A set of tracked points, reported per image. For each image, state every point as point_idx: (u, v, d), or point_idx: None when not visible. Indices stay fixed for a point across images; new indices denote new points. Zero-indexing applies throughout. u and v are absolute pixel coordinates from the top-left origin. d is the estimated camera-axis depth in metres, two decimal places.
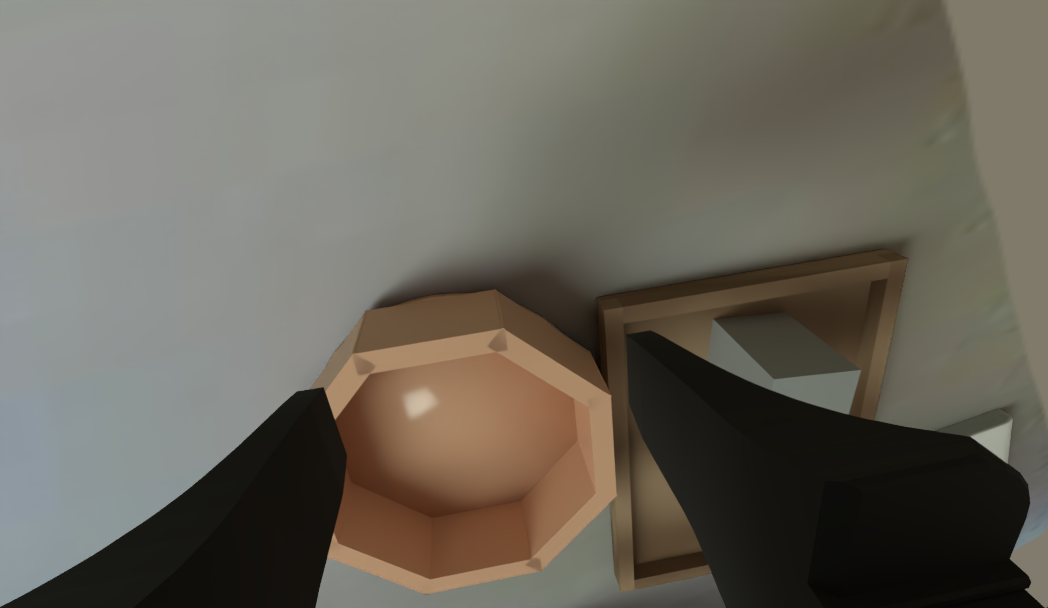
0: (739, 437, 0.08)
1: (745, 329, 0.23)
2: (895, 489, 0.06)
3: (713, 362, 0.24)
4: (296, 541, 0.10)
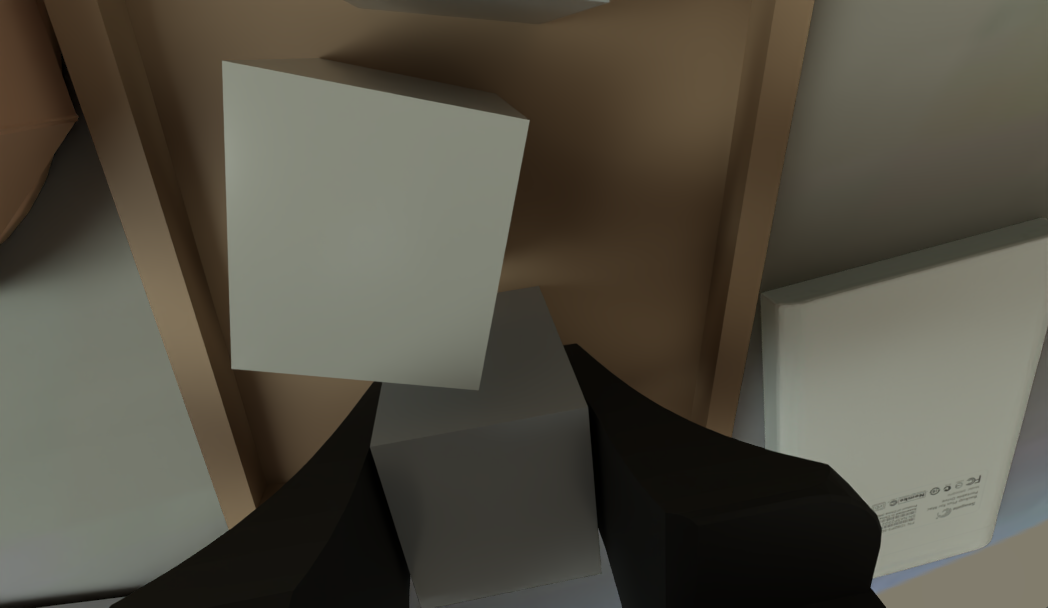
0: (619, 460, 0.08)
1: None
2: (734, 521, 0.06)
3: None
4: None
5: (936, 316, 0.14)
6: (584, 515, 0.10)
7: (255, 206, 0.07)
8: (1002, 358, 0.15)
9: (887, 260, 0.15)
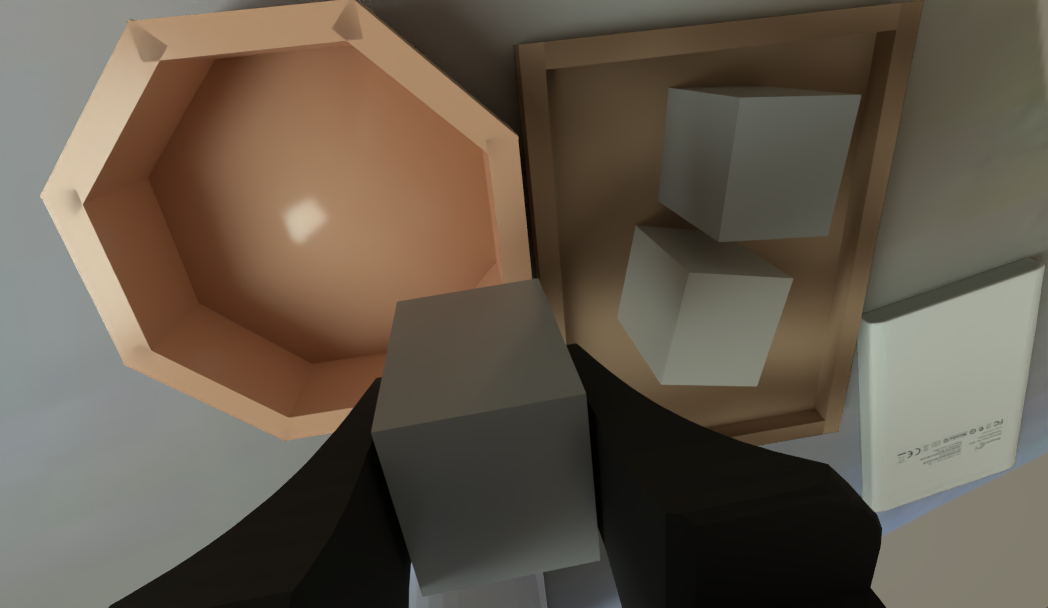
0: (619, 460, 0.08)
1: (709, 89, 0.18)
2: (734, 522, 0.06)
3: (669, 148, 0.19)
4: (394, 522, 0.10)
5: (965, 322, 0.24)
6: (583, 502, 0.10)
7: (686, 320, 0.17)
8: (1008, 344, 0.25)
9: (933, 291, 0.24)
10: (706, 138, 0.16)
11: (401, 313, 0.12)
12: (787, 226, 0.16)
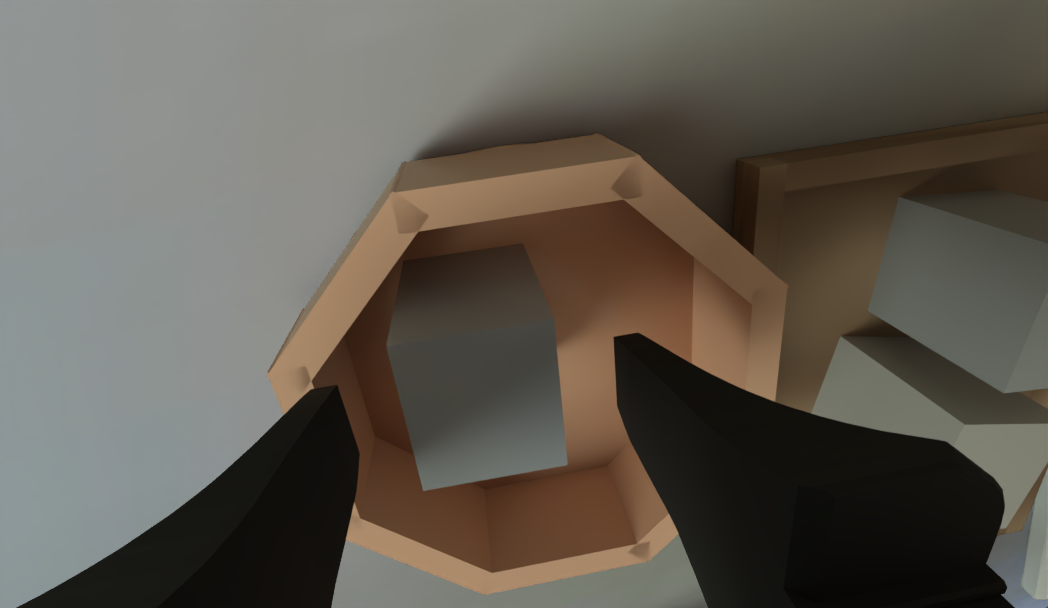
0: (719, 441, 0.08)
1: (959, 204, 0.16)
2: (868, 495, 0.06)
3: (895, 261, 0.17)
4: (313, 538, 0.10)
5: None
6: (552, 412, 0.12)
7: None
8: None
9: None
10: (981, 273, 0.14)
11: (407, 269, 0.15)
12: None
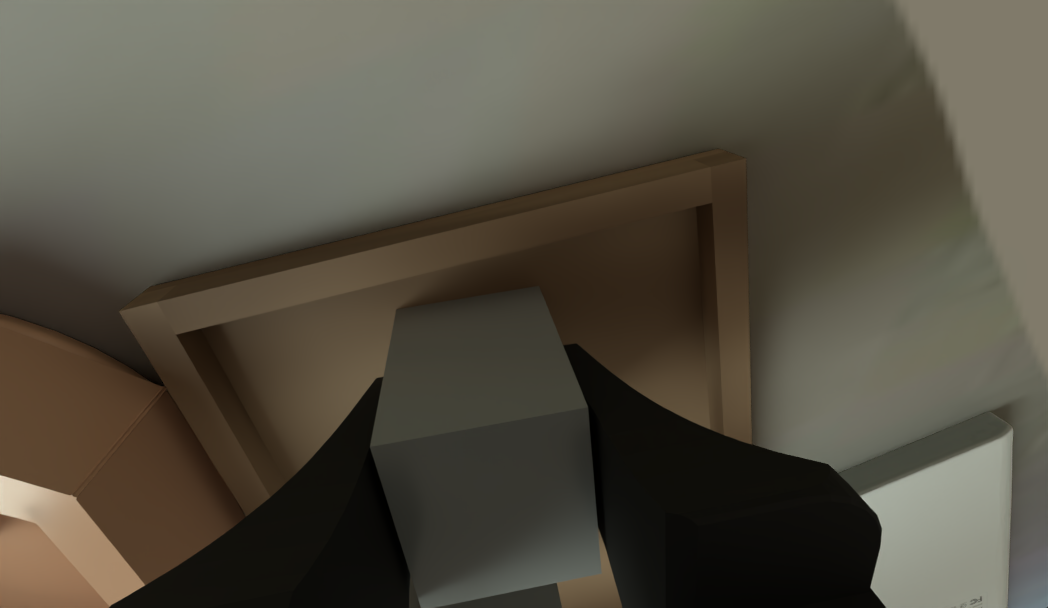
0: (619, 460, 0.08)
1: (434, 326, 0.12)
2: (733, 522, 0.06)
3: None
4: None
5: (909, 508, 0.18)
6: None
7: None
8: (975, 521, 0.18)
9: (861, 465, 0.18)
10: None
11: None
12: (529, 574, 0.10)
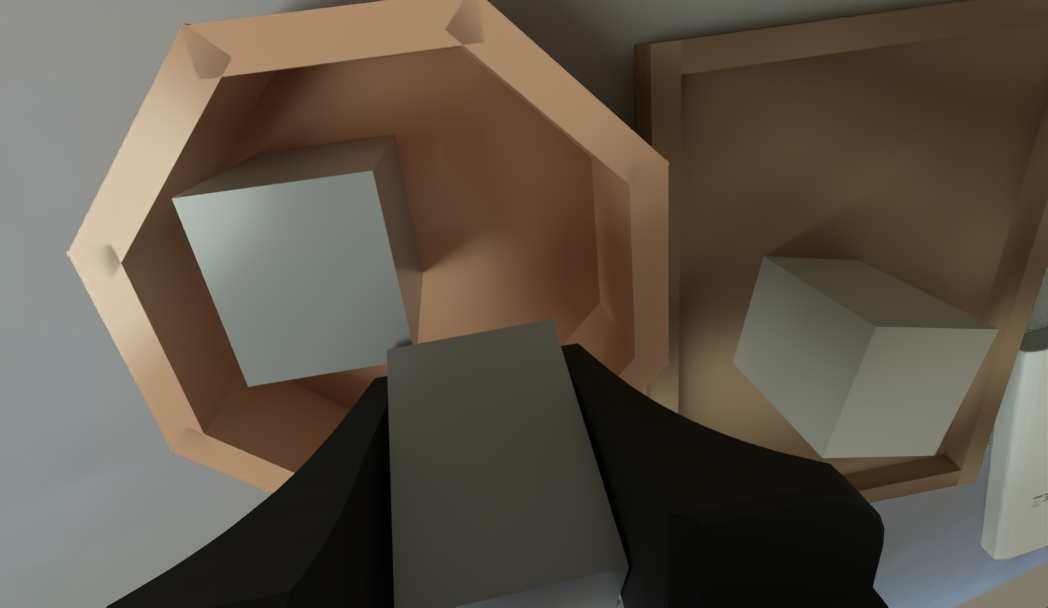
0: (621, 460, 0.08)
1: (436, 390, 0.10)
2: (736, 521, 0.06)
3: None
4: None
5: None
6: (389, 291, 0.11)
7: (864, 383, 0.13)
8: None
9: None
10: None
11: (256, 155, 0.13)
12: None
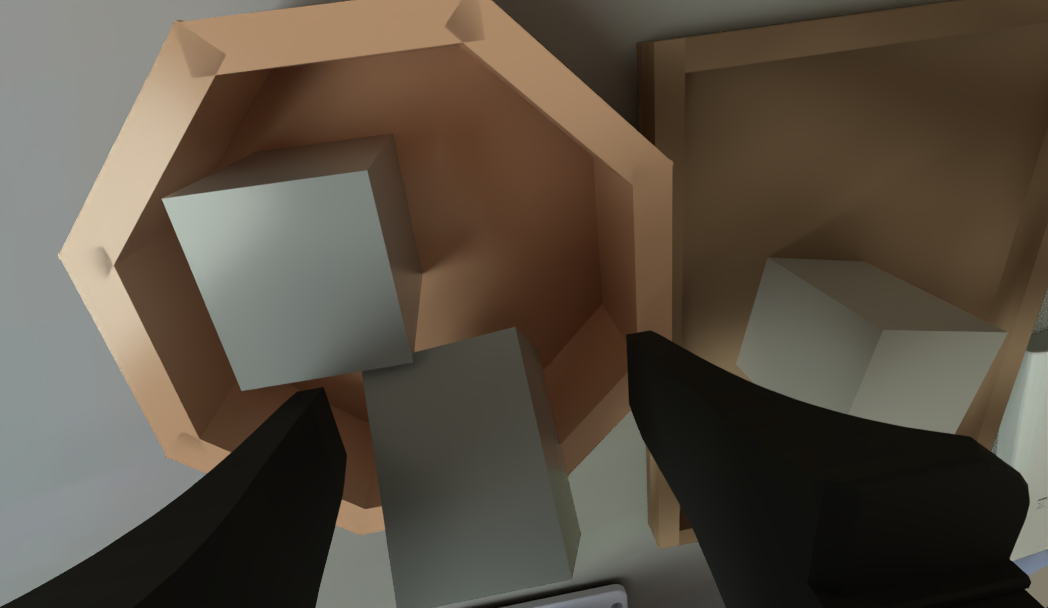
0: (739, 437, 0.08)
1: (410, 411, 0.11)
2: (895, 489, 0.06)
3: None
4: (296, 542, 0.10)
5: None
6: (384, 294, 0.10)
7: (871, 387, 0.13)
8: None
9: None
10: None
11: (252, 155, 0.13)
12: None
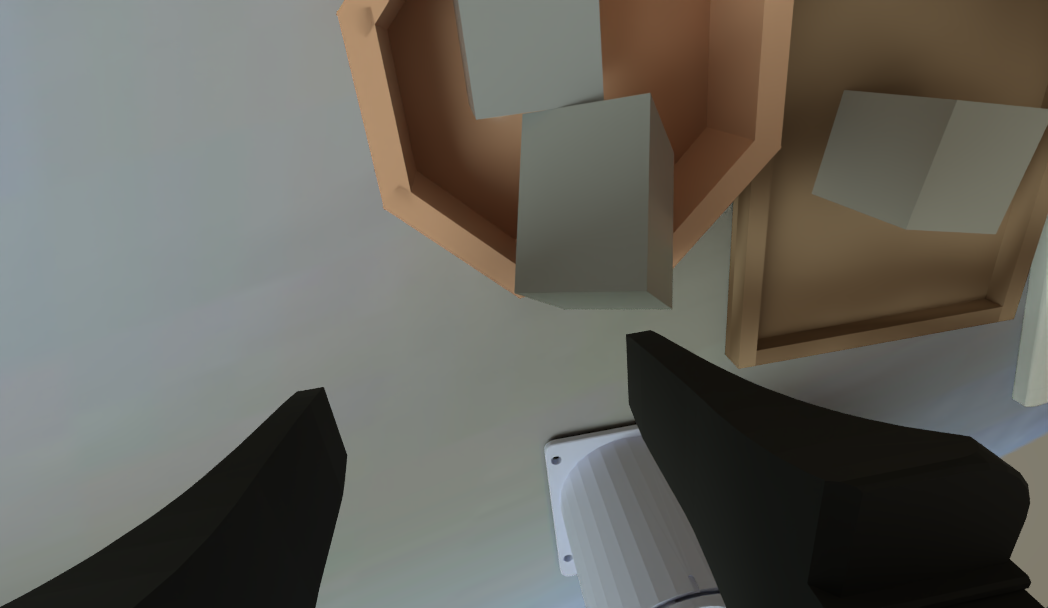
0: (739, 437, 0.08)
1: (552, 152, 0.14)
2: (895, 489, 0.06)
3: None
4: (295, 541, 0.10)
5: None
6: (592, 36, 0.14)
7: (944, 155, 0.17)
8: None
9: None
10: None
11: None
12: (624, 308, 0.17)
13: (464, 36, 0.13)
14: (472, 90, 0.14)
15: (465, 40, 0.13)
